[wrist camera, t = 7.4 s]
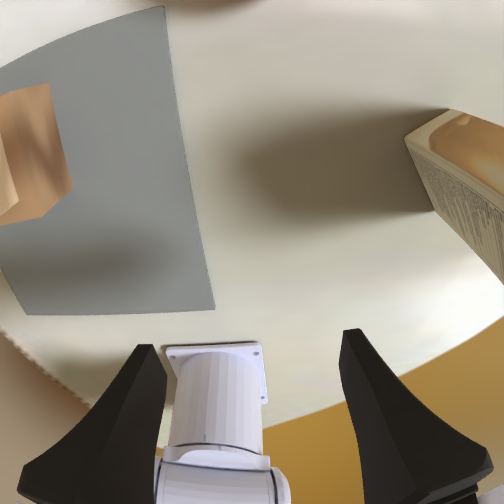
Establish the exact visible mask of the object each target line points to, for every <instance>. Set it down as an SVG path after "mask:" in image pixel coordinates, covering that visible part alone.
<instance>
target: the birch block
mask: <svg viewBox="0 0 504 504" xmlns="http://www.w3.org/2000/svg"><path fill="white" fill-rule="evenodd" d="M18 201H19V199H18V196H17V192H16V189H15V186H14V183H13V180H12V176H11V173H10V169H9V166H8V162H7V158H6V155H5V151H4V147H3V143H2V138H1V134H0V216H2V215H3V214H4V213H5V212H6V211H7V210H9V209H10V208H11V207H12V206H13V205H15V204H16V203H17V202H18Z"/></svg>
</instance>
